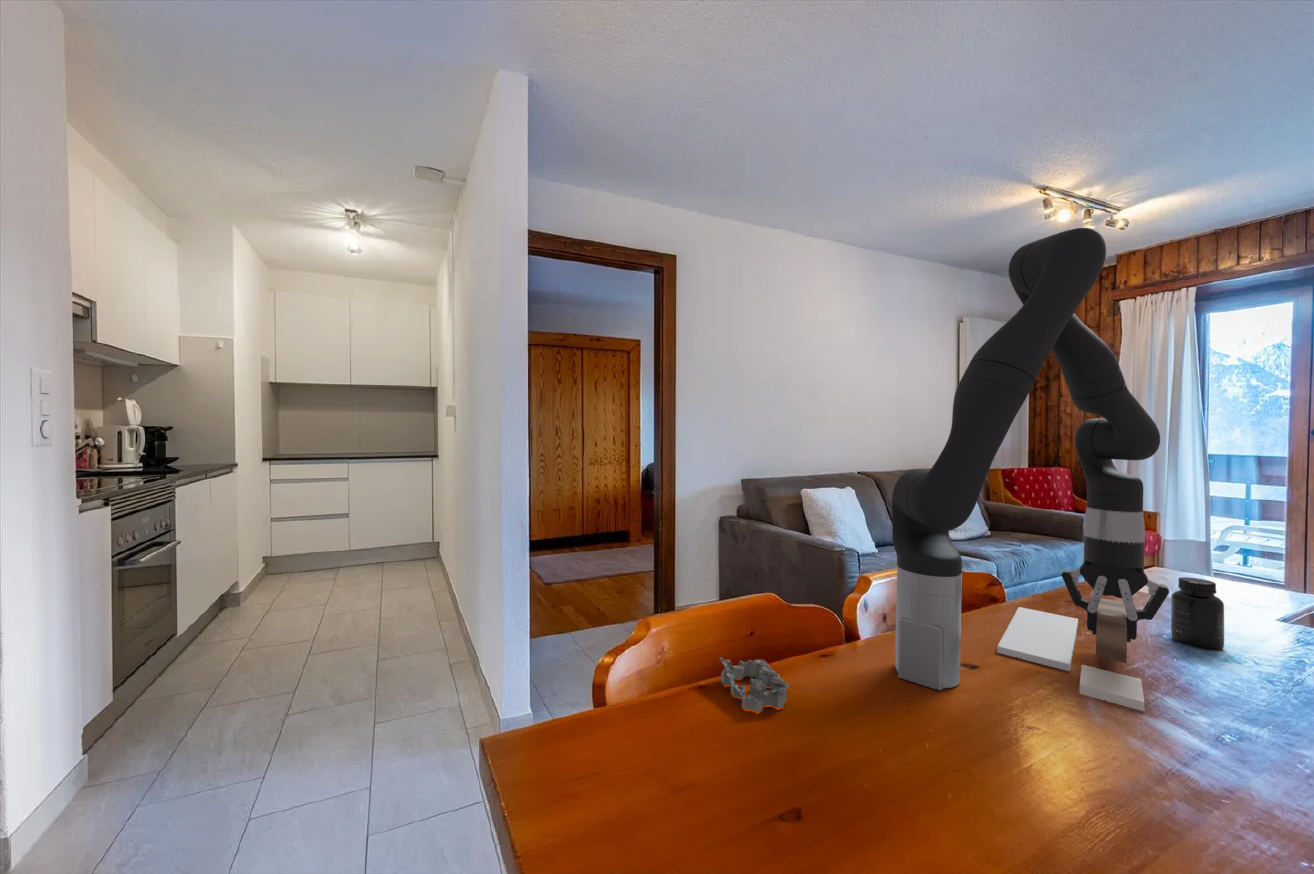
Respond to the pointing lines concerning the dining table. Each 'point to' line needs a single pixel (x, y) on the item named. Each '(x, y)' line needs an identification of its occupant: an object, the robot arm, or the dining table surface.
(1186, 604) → the supplement bottle
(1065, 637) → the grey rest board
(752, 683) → the cookie cutter
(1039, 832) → the dining table surface
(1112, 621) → the brown wooden block
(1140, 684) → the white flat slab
